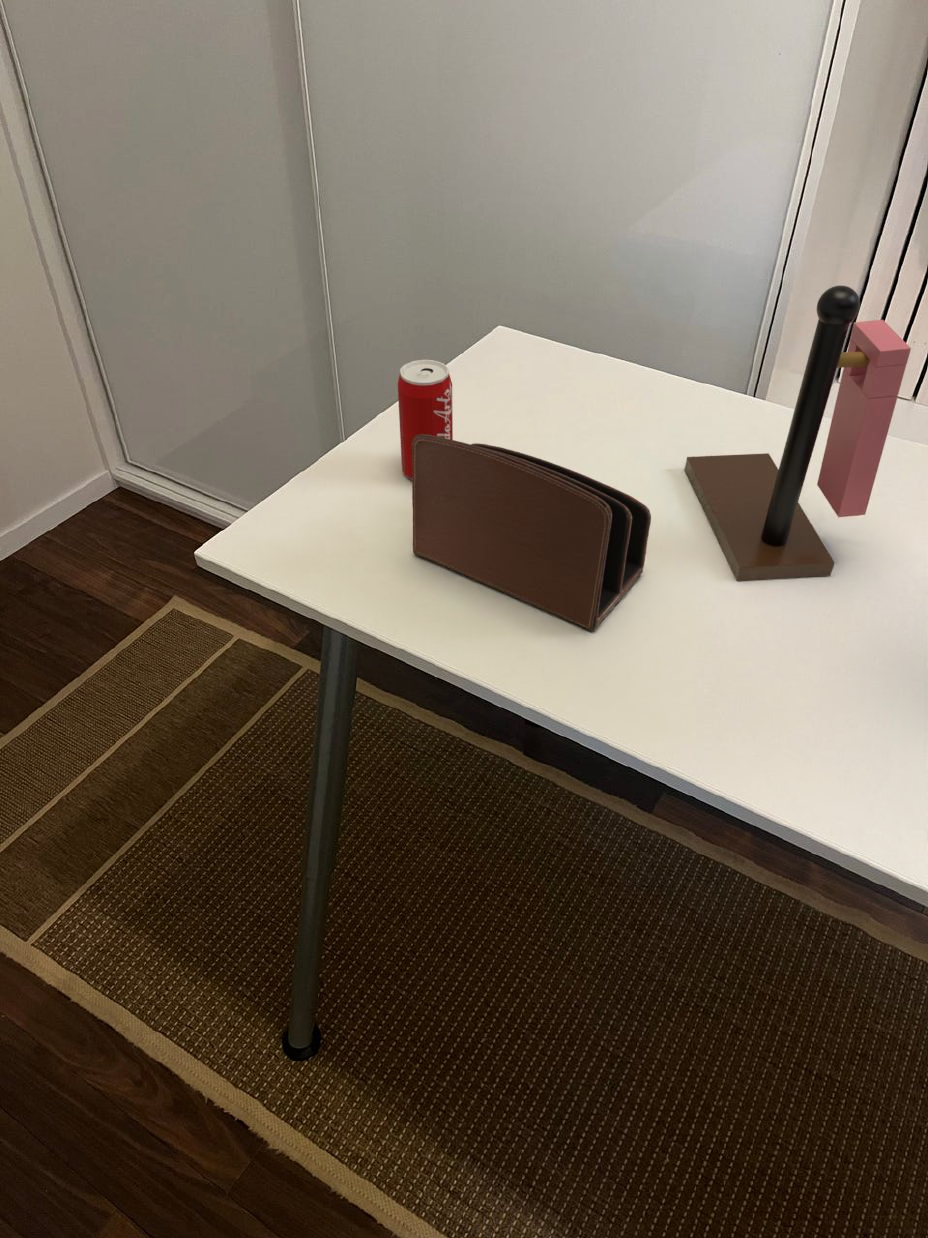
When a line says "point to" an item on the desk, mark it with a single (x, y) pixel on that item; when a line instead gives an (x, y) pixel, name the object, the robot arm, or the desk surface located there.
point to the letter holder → (527, 527)
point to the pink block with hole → (862, 417)
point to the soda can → (423, 405)
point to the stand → (767, 497)
